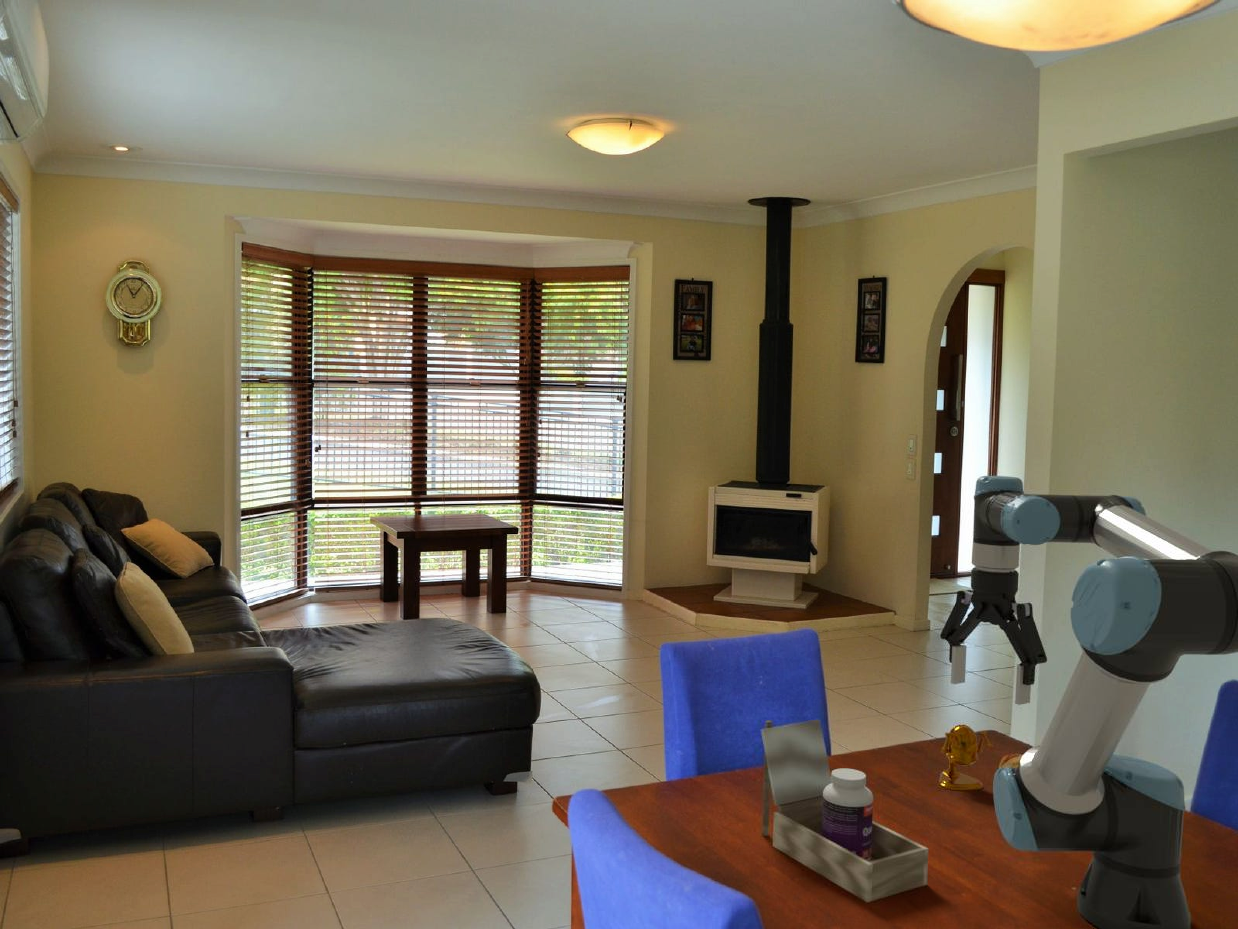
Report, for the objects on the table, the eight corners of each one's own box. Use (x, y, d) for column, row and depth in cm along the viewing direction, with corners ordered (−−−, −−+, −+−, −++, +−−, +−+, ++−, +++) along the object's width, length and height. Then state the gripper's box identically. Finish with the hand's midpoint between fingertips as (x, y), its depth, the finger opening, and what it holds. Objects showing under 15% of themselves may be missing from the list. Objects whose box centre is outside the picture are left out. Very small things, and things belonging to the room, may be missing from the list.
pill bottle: (870, 874, 170) (874, 785, 169) (819, 868, 172) (822, 780, 171) (870, 853, 178) (874, 768, 177) (821, 847, 180) (825, 763, 179)
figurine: (950, 794, 207) (953, 733, 207) (926, 774, 218) (929, 716, 217) (992, 793, 209) (995, 732, 208) (966, 773, 219) (969, 716, 218)
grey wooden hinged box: (926, 884, 169) (932, 759, 167) (867, 902, 162) (872, 772, 161) (811, 822, 192) (815, 712, 191) (754, 835, 186) (758, 722, 184)
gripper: (1074, 578, 171) (1067, 709, 173) (953, 556, 193) (947, 672, 194) (1043, 582, 167) (1036, 715, 169) (923, 558, 189) (918, 677, 190)
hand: (989, 693), depth 182 cm, fingers open, 13 cm apart
